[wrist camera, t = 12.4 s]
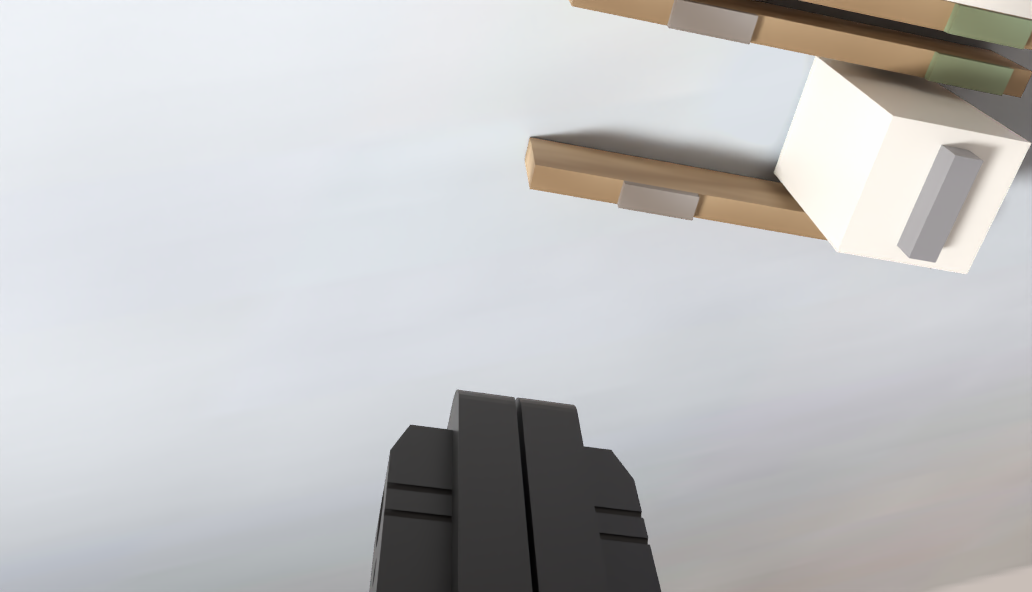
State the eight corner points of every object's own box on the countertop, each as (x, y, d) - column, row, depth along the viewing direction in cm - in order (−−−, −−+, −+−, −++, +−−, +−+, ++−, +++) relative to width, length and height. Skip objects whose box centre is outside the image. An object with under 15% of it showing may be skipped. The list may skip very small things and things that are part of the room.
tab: (815, 55, 29) (906, 125, 24) (931, 79, 30) (1048, 153, 24) (773, 172, 31) (847, 264, 25) (883, 192, 32) (980, 287, 26)
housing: (569, -39, 28) (579, -21, 26) (991, 50, 30) (1038, 74, 28) (524, 159, 31) (530, 192, 28) (911, 228, 33) (947, 264, 31)
